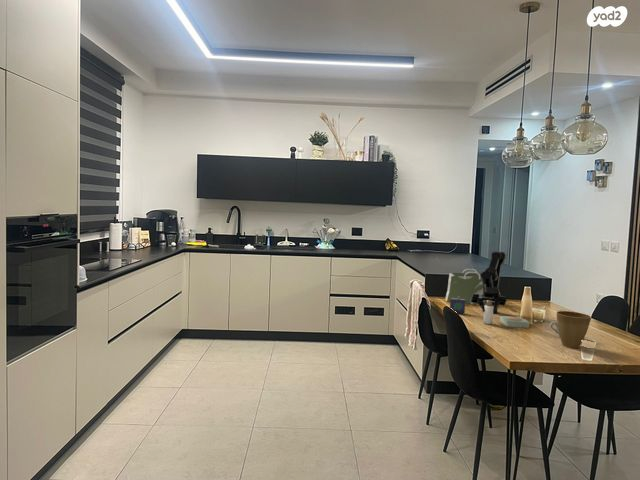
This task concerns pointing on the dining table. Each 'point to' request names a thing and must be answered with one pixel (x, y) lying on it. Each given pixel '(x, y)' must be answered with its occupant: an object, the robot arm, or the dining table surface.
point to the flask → (458, 305)
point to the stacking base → (514, 321)
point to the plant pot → (572, 327)
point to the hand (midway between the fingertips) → (488, 312)
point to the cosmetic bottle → (488, 312)
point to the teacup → (556, 328)
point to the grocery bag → (464, 286)
